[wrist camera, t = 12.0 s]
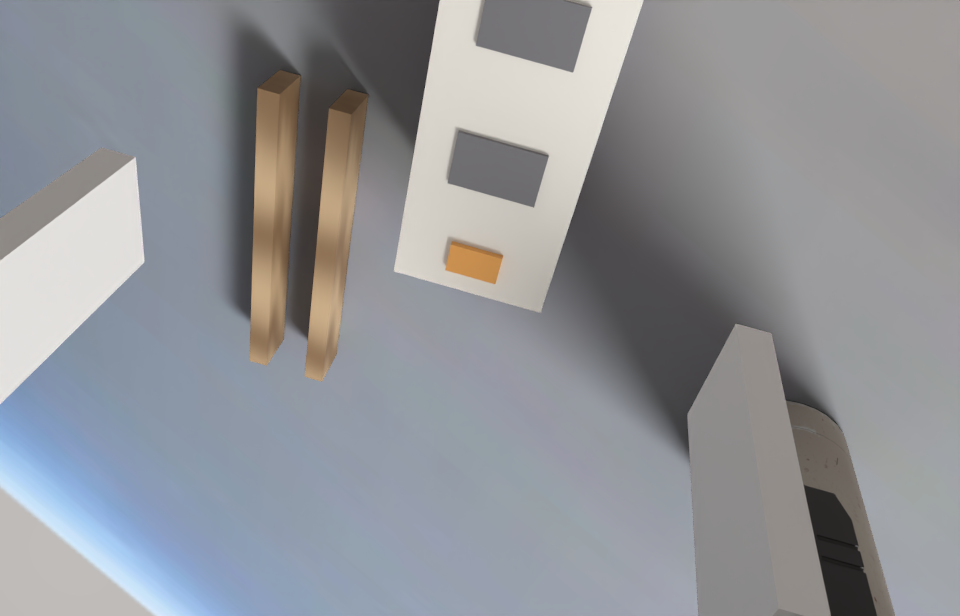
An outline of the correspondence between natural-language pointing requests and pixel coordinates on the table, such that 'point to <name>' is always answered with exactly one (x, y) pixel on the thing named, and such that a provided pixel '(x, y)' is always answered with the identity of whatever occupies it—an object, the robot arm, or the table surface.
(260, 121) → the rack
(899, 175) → the table surface
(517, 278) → the power strip
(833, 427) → the thermos bottle
